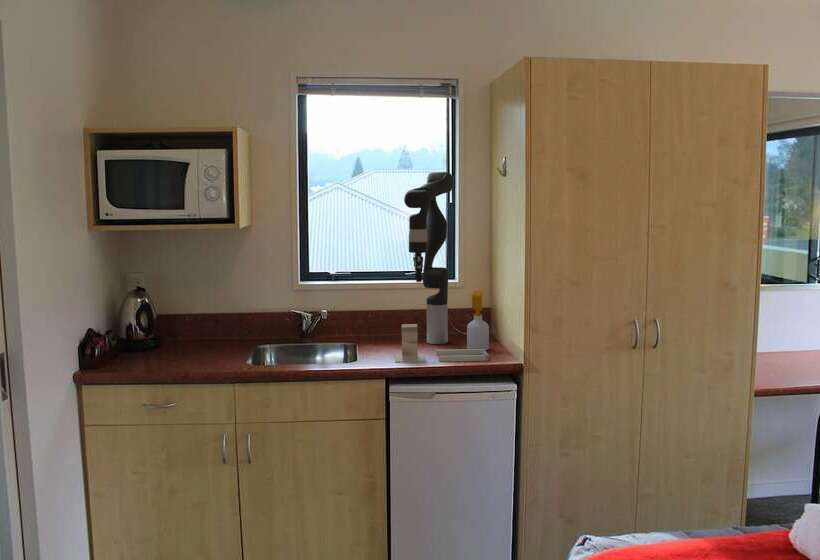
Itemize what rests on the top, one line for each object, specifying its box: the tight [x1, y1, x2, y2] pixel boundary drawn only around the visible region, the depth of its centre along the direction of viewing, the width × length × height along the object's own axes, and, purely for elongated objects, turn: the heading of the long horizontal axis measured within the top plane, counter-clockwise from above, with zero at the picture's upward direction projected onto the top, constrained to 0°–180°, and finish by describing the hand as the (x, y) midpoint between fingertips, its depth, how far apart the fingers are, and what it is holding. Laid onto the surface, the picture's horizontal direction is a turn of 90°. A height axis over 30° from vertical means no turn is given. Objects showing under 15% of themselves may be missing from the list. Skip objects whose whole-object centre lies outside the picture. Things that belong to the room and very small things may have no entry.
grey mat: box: [394, 353, 427, 363], centre depth 254 cm, size 12×12×1 cm
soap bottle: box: [466, 290, 490, 352], centre depth 268 cm, size 9×9×25 cm
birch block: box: [401, 323, 419, 359], centre depth 254 cm, size 5×6×13 cm
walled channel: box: [436, 348, 490, 362], centre depth 255 cm, size 11×20×2 cm, turn 92°
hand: (418, 280), depth 259 cm, fingers open, 8 cm apart
